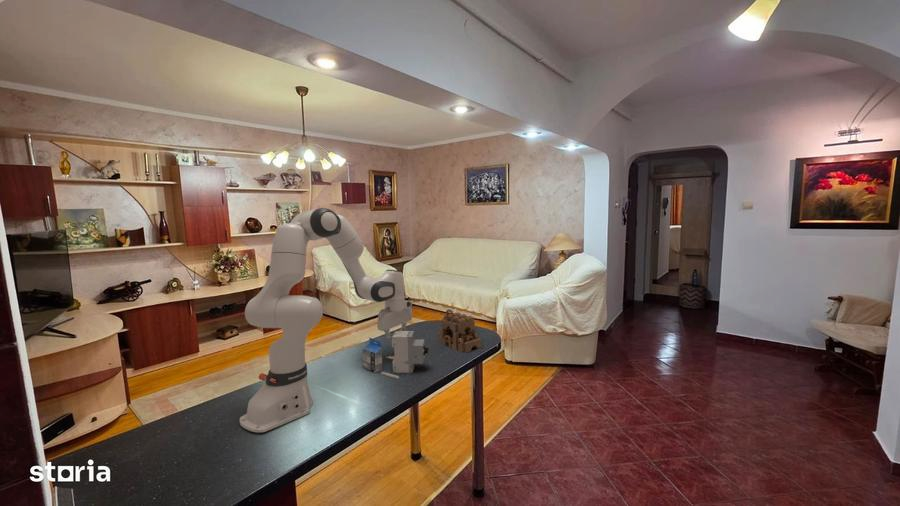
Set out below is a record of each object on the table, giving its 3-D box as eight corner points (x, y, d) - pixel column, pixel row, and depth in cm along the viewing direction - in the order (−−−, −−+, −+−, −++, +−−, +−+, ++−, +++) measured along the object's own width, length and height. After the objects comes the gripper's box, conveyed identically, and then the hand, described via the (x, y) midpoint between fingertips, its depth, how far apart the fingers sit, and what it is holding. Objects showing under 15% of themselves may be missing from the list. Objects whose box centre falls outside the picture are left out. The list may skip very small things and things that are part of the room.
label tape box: (362, 367, 151) (361, 339, 150) (370, 364, 154) (369, 337, 153) (375, 373, 145) (373, 344, 144) (383, 370, 148) (382, 341, 147)
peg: (397, 379, 139) (397, 377, 139) (380, 374, 144) (380, 372, 144) (399, 378, 140) (399, 375, 140) (382, 373, 145) (382, 370, 145)
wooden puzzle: (484, 346, 173) (484, 309, 171) (462, 354, 164) (461, 314, 162) (455, 335, 190) (454, 301, 188) (433, 342, 181) (432, 306, 179)
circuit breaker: (427, 372, 145) (426, 336, 144) (392, 372, 145) (391, 337, 144) (429, 364, 152) (428, 330, 151) (396, 365, 153) (394, 331, 151)
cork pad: (400, 361, 157) (400, 360, 157) (383, 357, 162) (383, 356, 162) (410, 356, 162) (410, 355, 162) (393, 352, 168) (393, 351, 168)
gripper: (384, 311, 149) (385, 343, 151) (414, 301, 167) (415, 330, 168) (373, 309, 153) (374, 340, 154) (403, 299, 170) (404, 328, 171)
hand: (395, 335), depth 161 cm, fingers open, 8 cm apart
